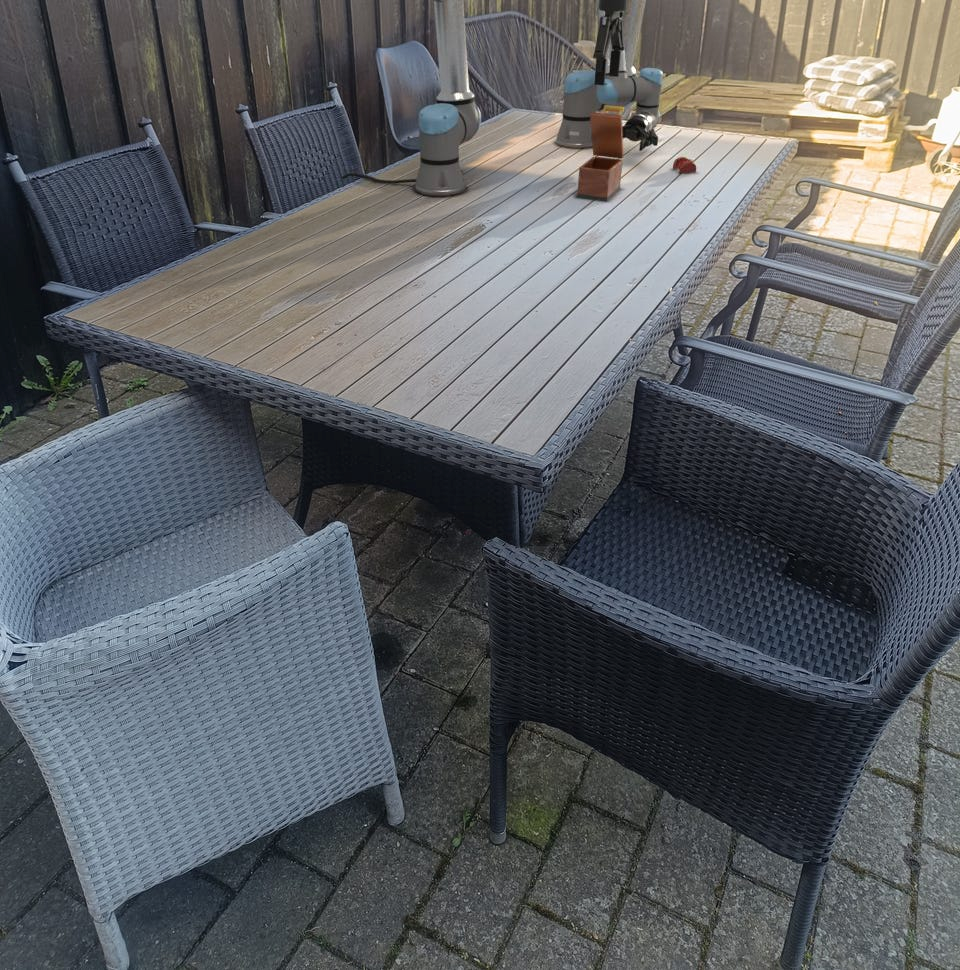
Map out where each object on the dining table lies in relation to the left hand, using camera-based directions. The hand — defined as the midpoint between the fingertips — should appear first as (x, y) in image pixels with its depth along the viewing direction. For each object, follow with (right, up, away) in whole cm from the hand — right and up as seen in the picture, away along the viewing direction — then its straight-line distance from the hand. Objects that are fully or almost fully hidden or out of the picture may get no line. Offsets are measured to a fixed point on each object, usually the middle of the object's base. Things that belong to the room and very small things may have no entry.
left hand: (606, 80), depth 236 cm
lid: (+2, -11, +13) cm, 17 cm away
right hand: (+8, -7, +26) cm, 28 cm away
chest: (0, -25, +19) cm, 32 cm away
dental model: (+31, -11, +39) cm, 51 cm away
